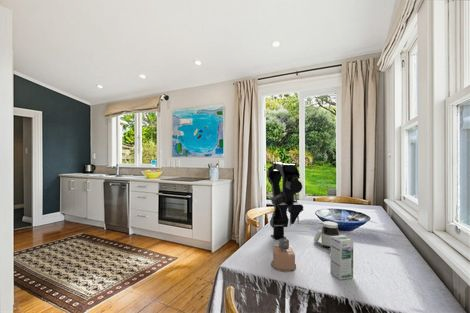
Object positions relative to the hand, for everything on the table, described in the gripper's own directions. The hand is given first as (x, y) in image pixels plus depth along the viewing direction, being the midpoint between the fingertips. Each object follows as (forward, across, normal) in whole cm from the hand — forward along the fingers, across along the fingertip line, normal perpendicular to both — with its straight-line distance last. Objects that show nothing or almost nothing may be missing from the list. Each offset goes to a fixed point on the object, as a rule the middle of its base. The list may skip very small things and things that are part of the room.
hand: (287, 221), depth 112 cm
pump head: (+11, +17, -10) cm, 23 cm away
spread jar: (+13, +1, +21) cm, 25 cm away
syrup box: (+13, +28, +8) cm, 32 cm away
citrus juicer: (+13, -39, +24) cm, 48 cm away
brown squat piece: (+13, +16, -10) cm, 23 cm away
